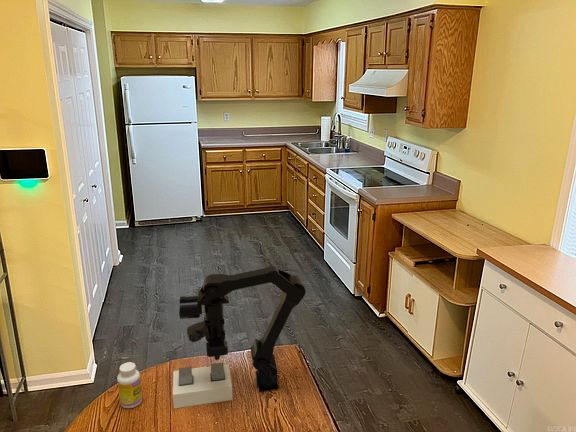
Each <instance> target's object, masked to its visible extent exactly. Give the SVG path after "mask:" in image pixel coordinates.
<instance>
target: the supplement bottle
mask: <svg viewBox="0 0 576 432" xmlns="http://www.w3.org/2000/svg"><path fill="white" fill-rule="evenodd" d="M116 380H117V388H118V397H119V403H120V404H119V405H120V406H121V407H122V408H125V409H132V408H136V407H137V406H139V405H140V404H141V403H142V401H143V392H142V391H143V390H142V383H141V374H140V371H139V370H137V366H136V363H134V362H131V361H129V362H128V361H127V362H124V363H122V364H121V365H120V366H119V373H118V375H117V378H116Z"/></svg>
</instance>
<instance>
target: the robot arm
mask: <svg viewBox="0 0 576 432" xmlns="http://www.w3.org/2000/svg"><path fill="white" fill-rule="evenodd" d="M266 284H273V285H274V286H276V287H277V288H278V289H279V290H281V296H280V301H279V303H278V306H277V308H276V310H275V311H274V314H273V316H272V318H271V320H270V322H269V324H268V326H267V328H266V330H265V332H264V334H263V336H262V337H261V338H259V339H257V338H255V339H254V340H253V344H252V345H251V346H250V355H251V360H252V361H251V362H252V366H253V368H254V369H255V370H256V371H255V385H256V387H257V388H258V391H259V392H261V393H262V392H267V391H273V390H274V391H275V390H279V388H280V386H279V383H278V370H279V369H278V367H277V362H276V357H275V354H274V350H275V346H276V344H277V341H278V339H279V337H280V335H281V334H282V331H283V329H284V326H285V325H286V323H287V321H288V319H289V317H290V315H291V313H292V310H293V309H294V308H295V307H297V306H298V305H299V304H300V303H301V302H302V300H303V298H304V297H305V296H306V293H307V292H306V288H305V286H304V283H303V279H301V277H300V276H298V275H295V274H293V275H292V274H291V273H290V272H287V271H285V270H282V269H280V268H278V267H276V266H275V265H270V266H268V267H264V268H259V269H254V270H250V271H246V272H240V273H236V274H225V273H216V274H215V273H214V274H212V273H211V274H209V275H207V276H205V278H204V279H203V282H202V287H200V289H199V290H198V293H197V295H195V296H194V295H193V296H191V295H190V296H184V295H183V296H180V297H179V311H178V314H179V319H180V320H186V319H187V320H189V319H199V318H201V315H203V311H204V317H203V320H202V321H198V322H196V323H193V324H192V325H189V326H188V327H187V328H186V335H187V336H188V341H190V342H191V343H192V344H193V343H197V342H199V341H201V340H202V339H203V338H205V340H206V342H205V343H206V344H205V345H206V346H205V348H206V356H207V357H208V358H214V361H219V360H220V357H221V356H228V354H229V347H228V346H229V345H228V342H227V340H226V331H225V324H226V323H225V322H226V321H225V317H224V316H225V315H224V313H225V312H224V305H225V304H230V297H229V296H228V294H230V293H232V292H233V291H237V290H238V291H239V290H241V289H242V290H243V289H248V288H252V287H256V286H261V285H266ZM203 306H204V310H203Z"/></svg>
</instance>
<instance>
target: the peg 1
mask: <svg viewBox="0 0 576 432" xmlns="http://www.w3.org/2000/svg"><path fill="white" fill-rule="evenodd" d="M192 369H193V366H192V365H191V366H185V367H178V370H179V385H180V386H185V385H192V384H193V378H192Z"/></svg>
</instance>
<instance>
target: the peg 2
mask: <svg viewBox="0 0 576 432" xmlns="http://www.w3.org/2000/svg"><path fill="white" fill-rule="evenodd" d="M223 364H224V362H223V361H222V362H215V363H210V366H211V378H212V382H214V381H221V380H225V379H224V366H223Z"/></svg>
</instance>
